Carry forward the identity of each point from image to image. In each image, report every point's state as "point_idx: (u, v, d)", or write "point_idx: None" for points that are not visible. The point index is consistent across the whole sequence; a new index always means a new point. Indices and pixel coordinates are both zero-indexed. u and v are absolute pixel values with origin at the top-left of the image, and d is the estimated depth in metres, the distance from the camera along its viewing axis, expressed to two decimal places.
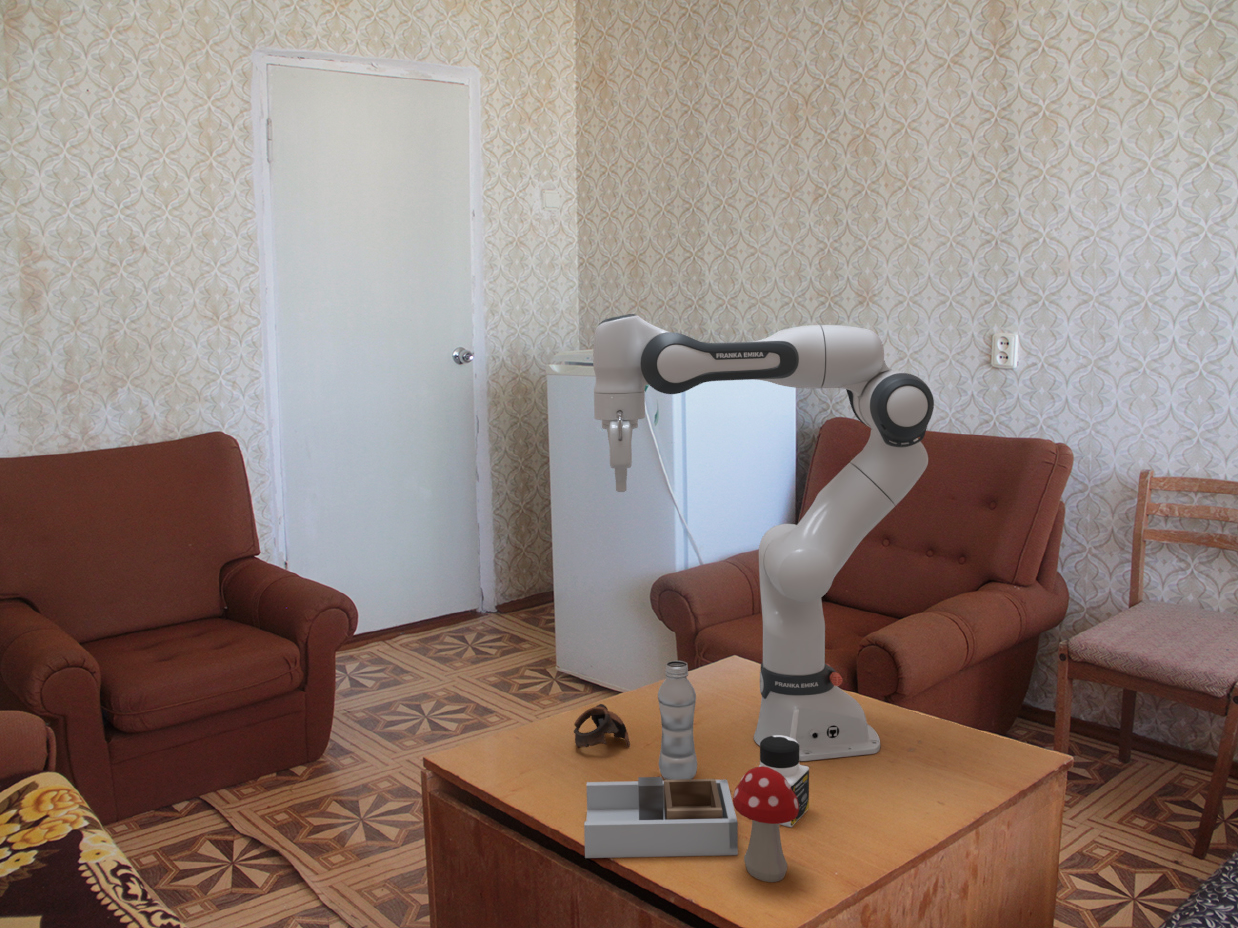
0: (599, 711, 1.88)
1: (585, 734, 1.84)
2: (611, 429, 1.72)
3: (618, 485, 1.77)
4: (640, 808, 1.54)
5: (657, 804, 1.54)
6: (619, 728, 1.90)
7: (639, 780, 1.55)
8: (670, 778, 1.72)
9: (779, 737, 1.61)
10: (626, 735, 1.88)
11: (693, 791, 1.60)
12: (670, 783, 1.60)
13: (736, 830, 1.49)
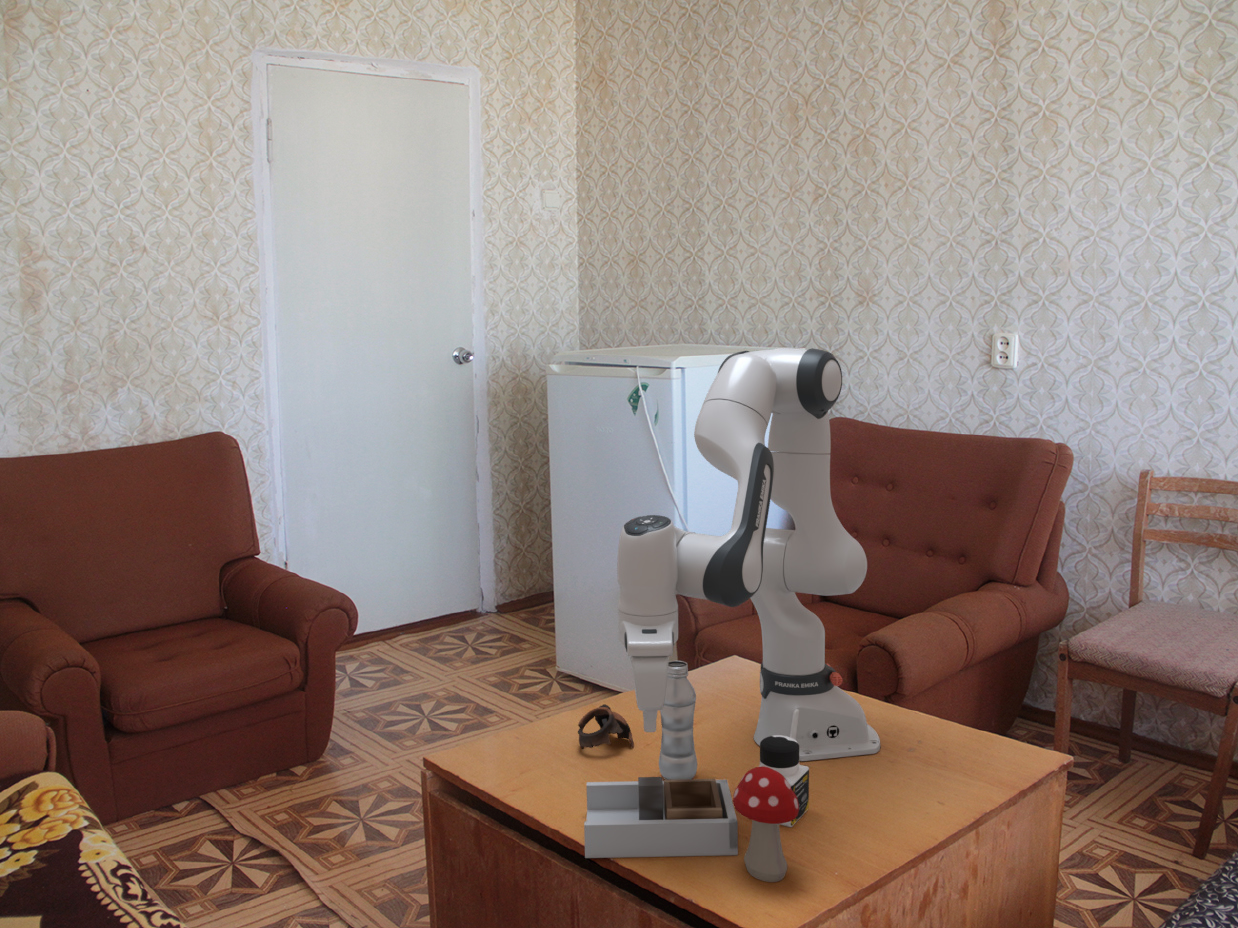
0: (603, 711, 1.88)
1: (589, 734, 1.83)
2: None
3: None
4: (640, 808, 1.54)
5: (657, 804, 1.54)
6: (623, 728, 1.90)
7: (639, 780, 1.55)
8: (670, 778, 1.72)
9: (779, 737, 1.61)
10: (630, 735, 1.87)
11: (693, 791, 1.60)
12: (670, 783, 1.60)
13: (736, 830, 1.49)
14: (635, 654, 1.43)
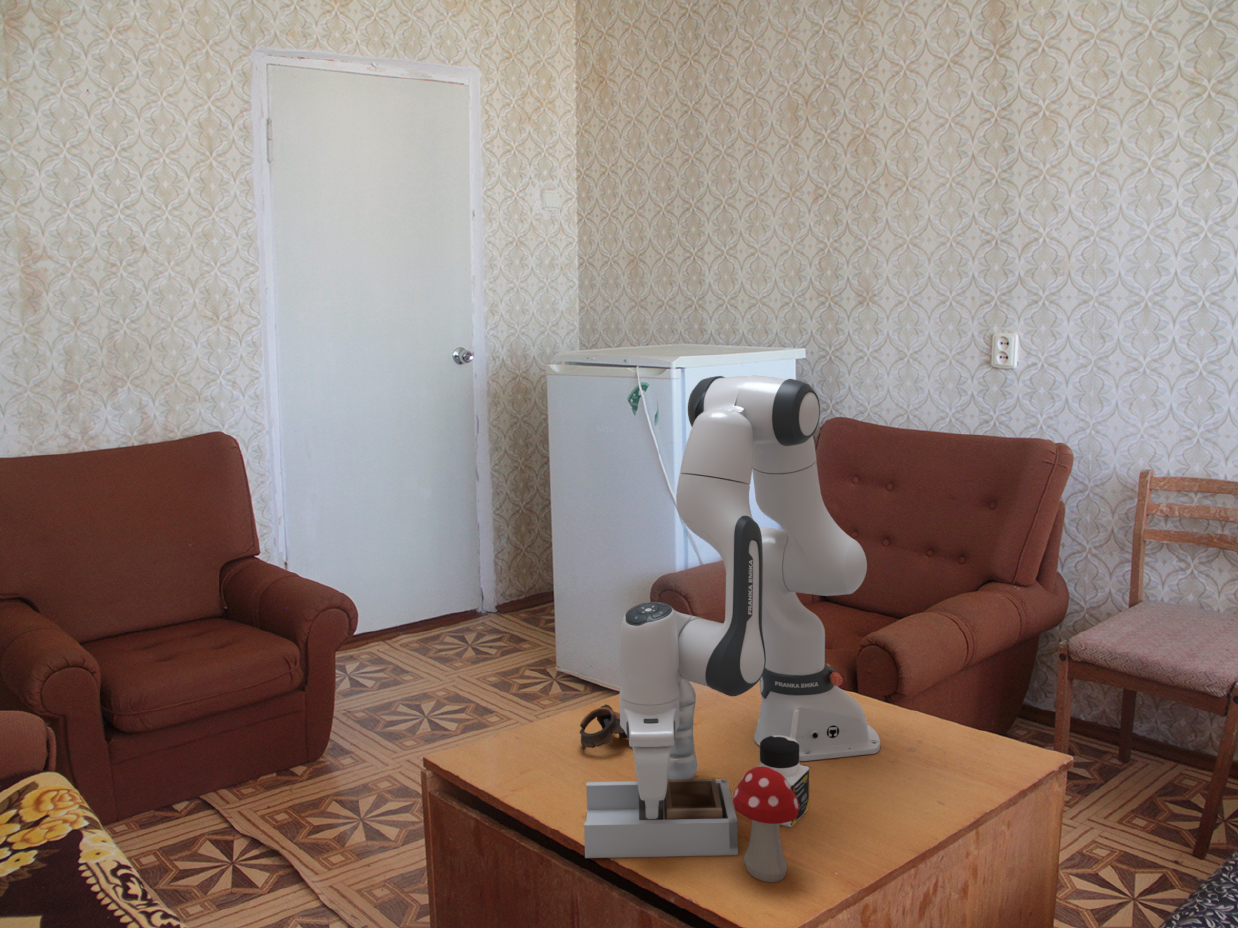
0: (605, 712, 1.88)
1: (591, 734, 1.83)
2: None
3: None
4: (640, 808, 1.54)
5: None
6: None
7: None
8: (670, 778, 1.72)
9: (779, 737, 1.61)
10: None
11: (693, 791, 1.60)
12: (670, 783, 1.60)
13: (736, 830, 1.49)
14: (637, 745, 1.45)
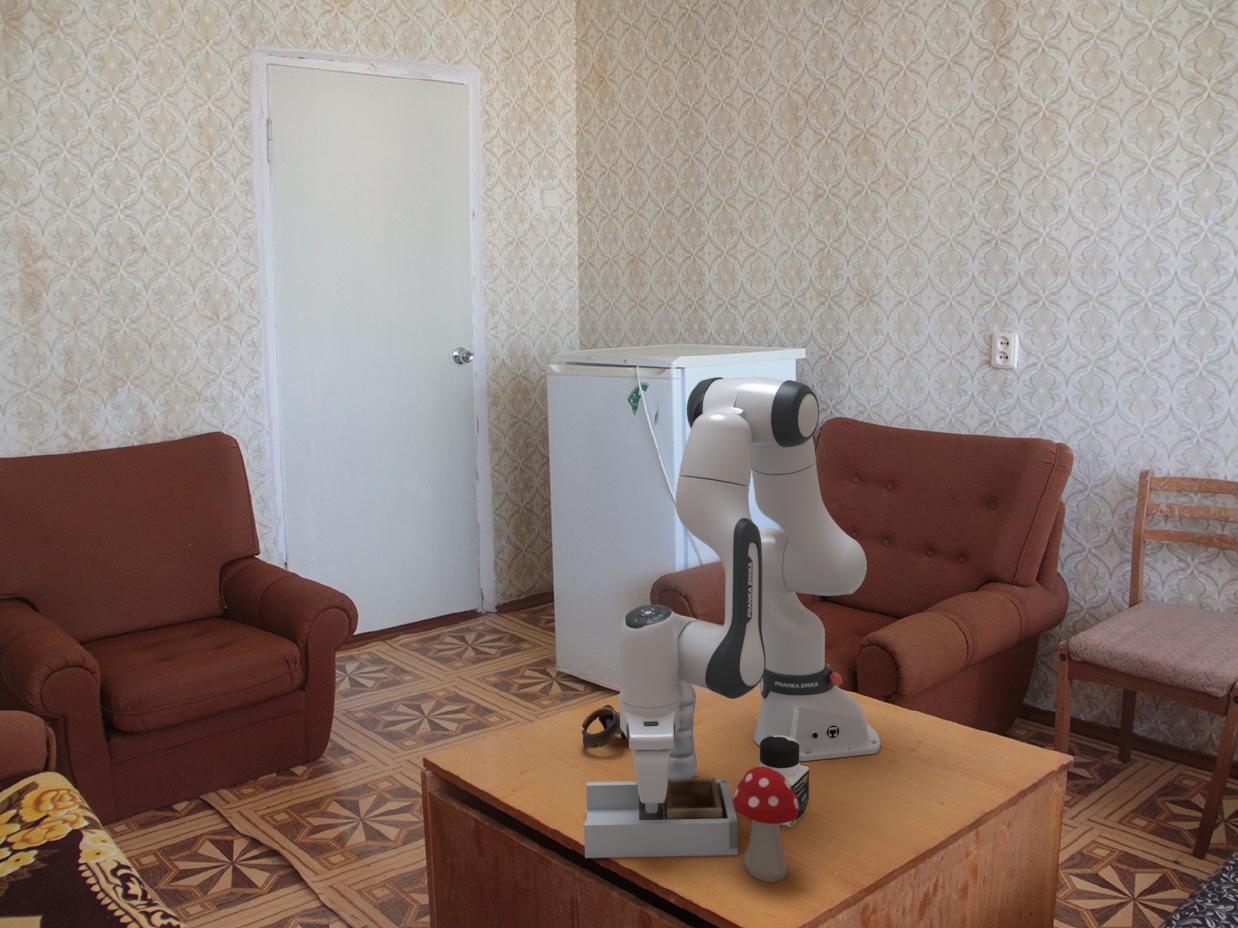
0: (607, 712, 1.88)
1: (593, 735, 1.83)
2: None
3: None
4: (640, 808, 1.54)
5: None
6: None
7: None
8: (670, 778, 1.72)
9: (779, 737, 1.61)
10: None
11: (693, 791, 1.60)
12: (670, 783, 1.60)
13: (736, 830, 1.49)
14: (637, 748, 1.45)
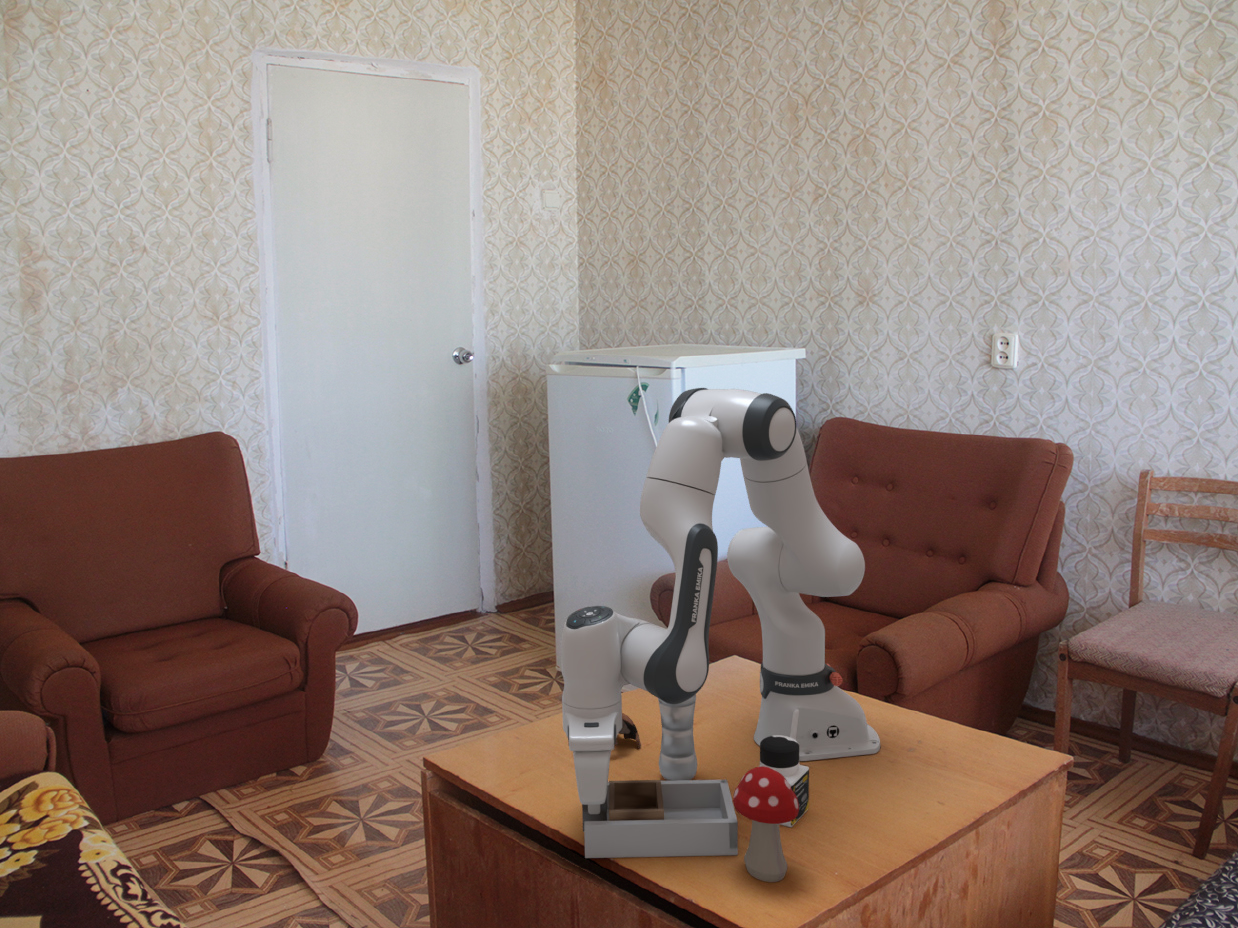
0: None
1: None
2: None
3: None
4: (583, 809, 1.54)
5: (600, 805, 1.54)
6: (629, 729, 1.89)
7: None
8: (670, 778, 1.72)
9: (779, 737, 1.61)
10: (637, 736, 1.87)
11: (638, 792, 1.60)
12: (615, 784, 1.60)
13: (736, 830, 1.49)
14: (577, 749, 1.45)
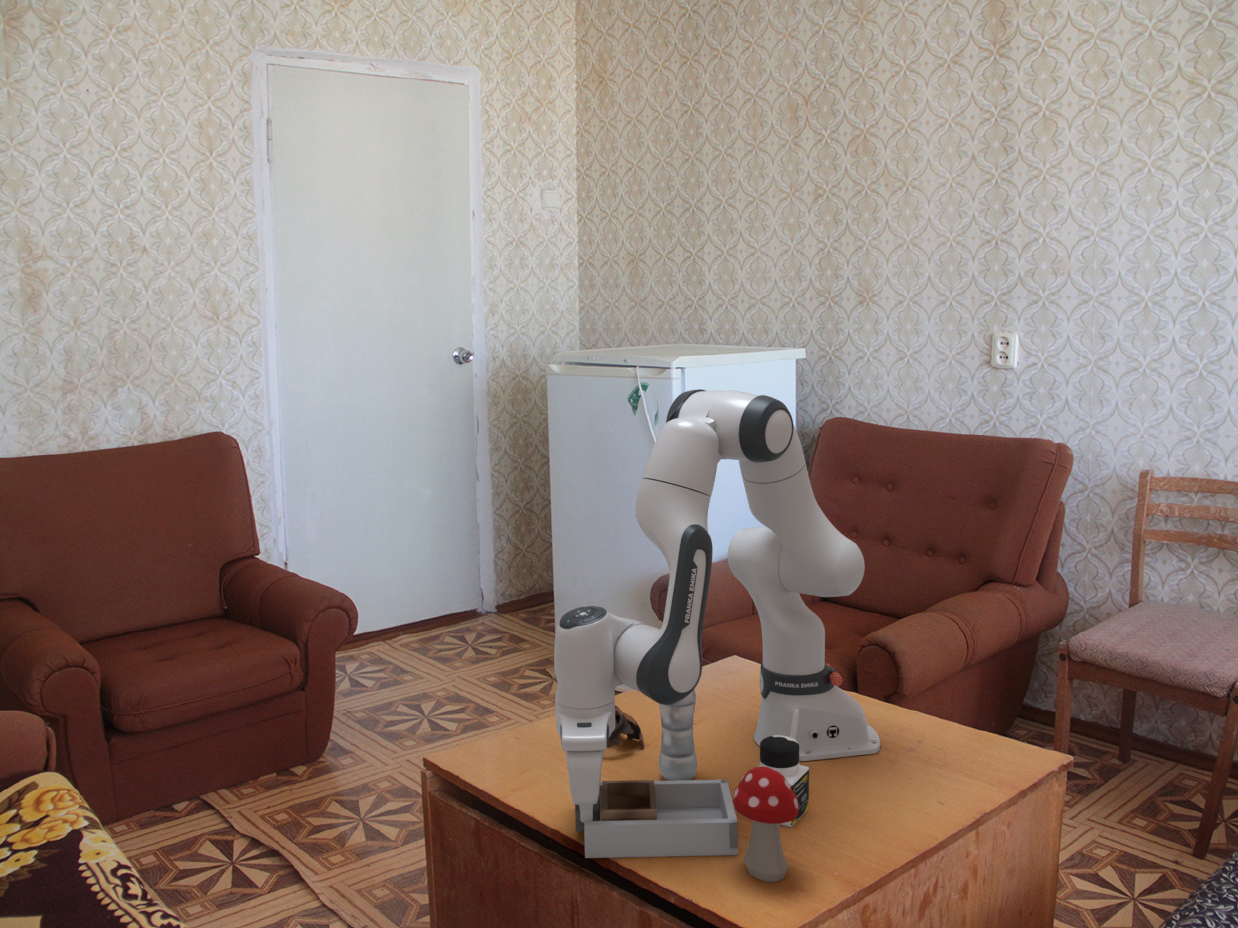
0: None
1: None
2: None
3: None
4: (576, 809, 1.54)
5: (593, 805, 1.54)
6: (633, 729, 1.89)
7: None
8: (670, 778, 1.72)
9: (779, 737, 1.61)
10: (641, 736, 1.87)
11: (631, 792, 1.60)
12: (608, 784, 1.60)
13: (736, 830, 1.49)
14: (569, 749, 1.45)
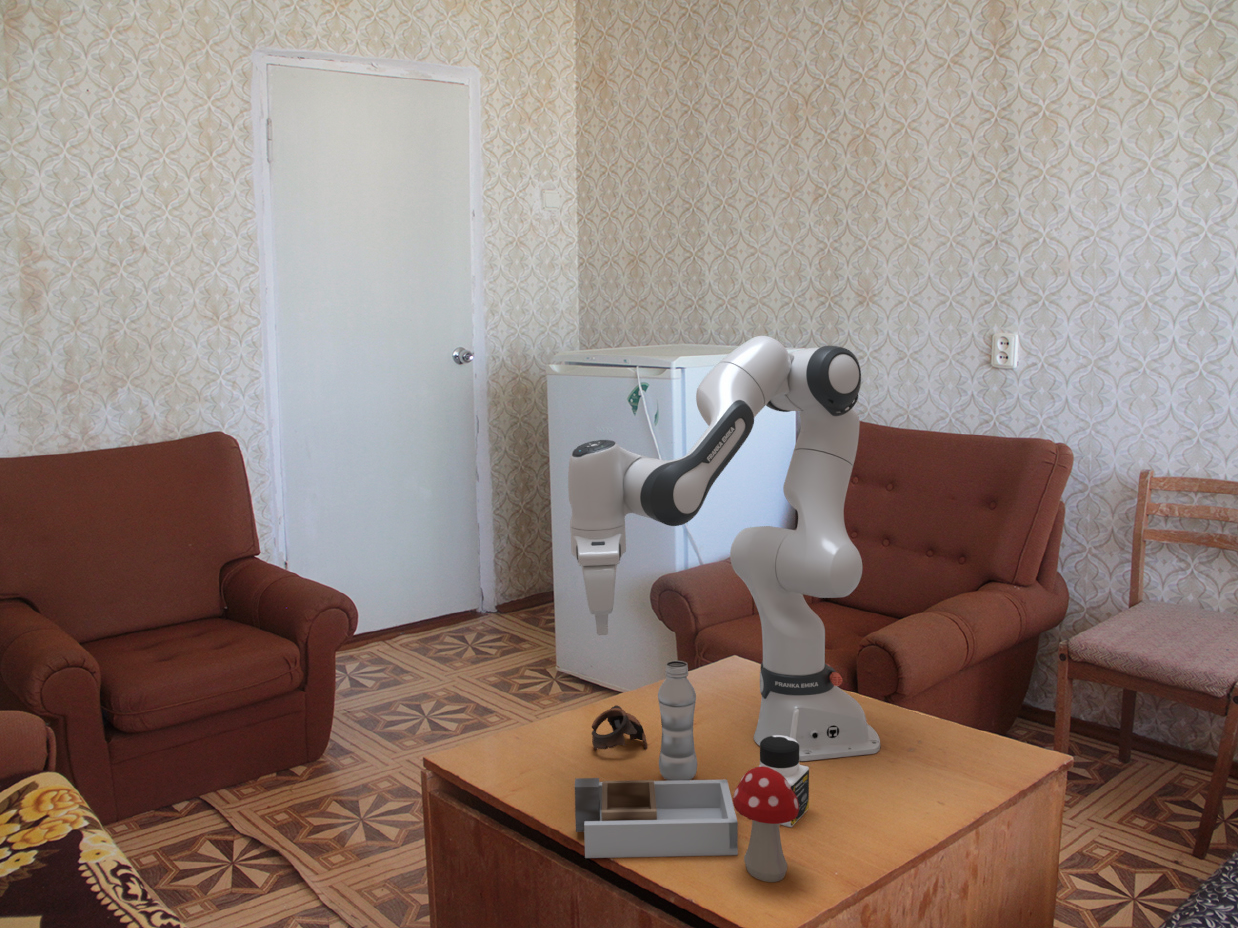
0: (616, 713, 1.87)
1: (604, 736, 1.83)
2: None
3: None
4: (576, 809, 1.54)
5: (593, 805, 1.54)
6: (636, 729, 1.89)
7: (576, 781, 1.55)
8: (670, 778, 1.72)
9: (779, 737, 1.61)
10: (644, 736, 1.87)
11: (631, 792, 1.60)
12: (608, 784, 1.60)
13: (736, 830, 1.49)
14: (585, 564, 1.59)
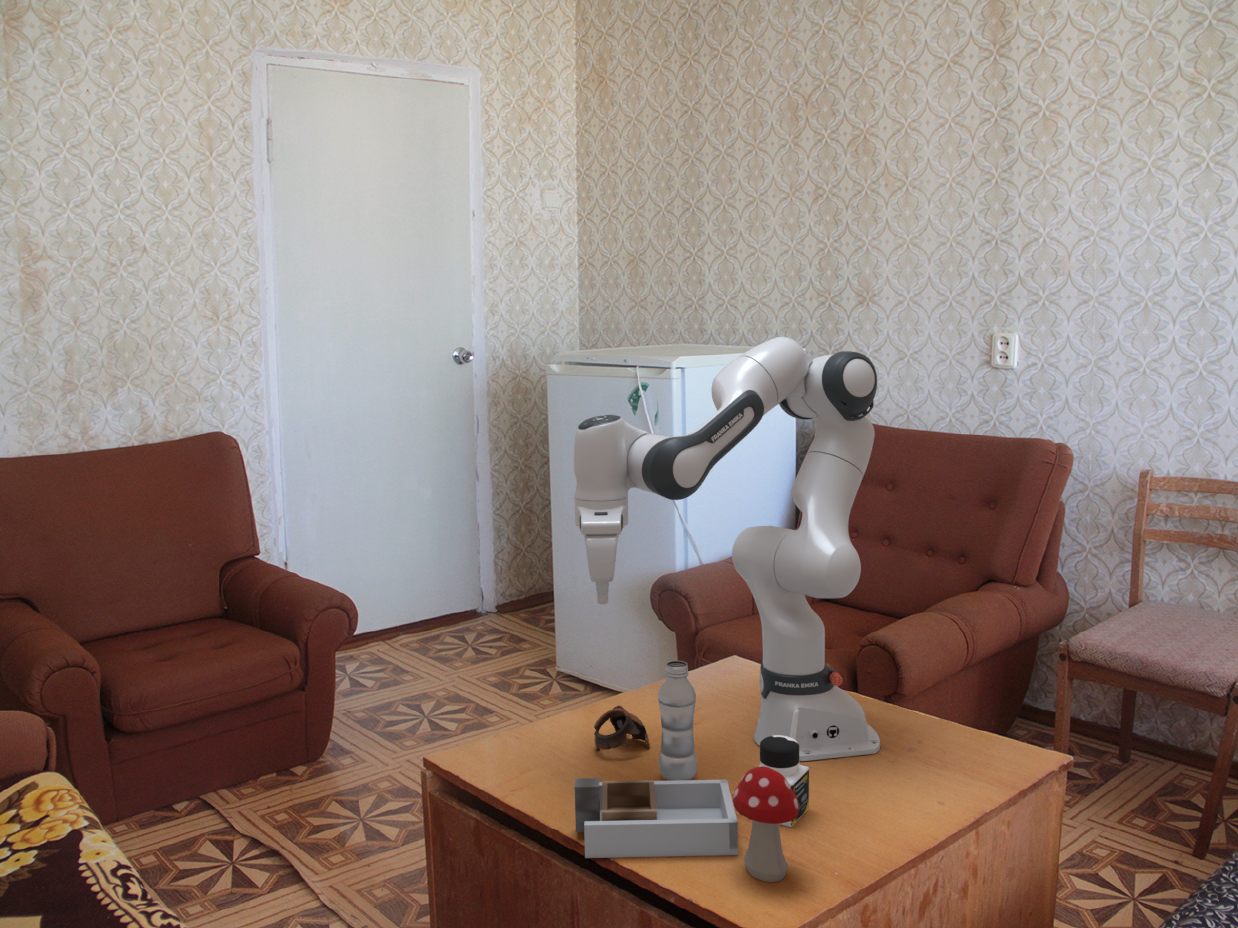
0: (619, 713, 1.87)
1: (606, 736, 1.82)
2: None
3: None
4: (576, 809, 1.54)
5: (593, 805, 1.54)
6: (638, 729, 1.89)
7: (576, 781, 1.55)
8: (670, 778, 1.72)
9: (779, 737, 1.61)
10: (646, 736, 1.87)
11: (631, 792, 1.60)
12: (608, 784, 1.60)
13: (736, 830, 1.49)
14: (588, 532, 1.63)
